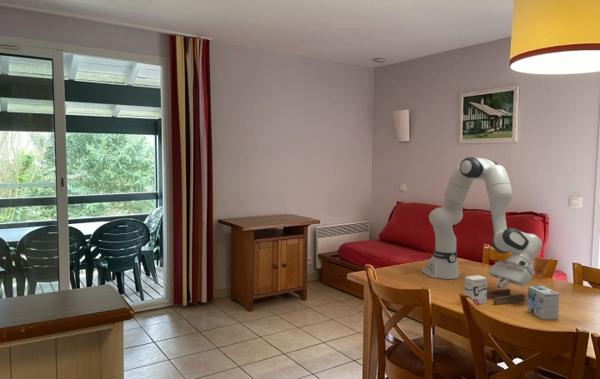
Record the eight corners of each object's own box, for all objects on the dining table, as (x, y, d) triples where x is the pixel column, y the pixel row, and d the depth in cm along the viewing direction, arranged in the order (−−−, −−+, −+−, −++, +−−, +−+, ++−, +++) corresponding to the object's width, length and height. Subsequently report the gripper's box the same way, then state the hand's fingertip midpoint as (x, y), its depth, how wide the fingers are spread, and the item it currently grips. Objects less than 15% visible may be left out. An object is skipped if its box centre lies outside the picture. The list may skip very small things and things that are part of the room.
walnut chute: (480, 298, 198) (480, 292, 198) (507, 294, 203) (507, 288, 203) (496, 305, 188) (496, 298, 188) (524, 301, 193) (524, 294, 193)
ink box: (472, 305, 188) (472, 279, 187) (464, 302, 192) (464, 276, 192) (487, 303, 191) (487, 277, 190) (478, 300, 195) (479, 274, 195)
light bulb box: (527, 310, 181) (527, 285, 180) (542, 310, 181) (542, 285, 181) (543, 320, 170) (544, 293, 170) (559, 319, 171) (560, 292, 170)
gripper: (496, 255, 206) (479, 277, 204) (530, 264, 187) (512, 288, 184) (503, 263, 208) (486, 285, 205) (538, 274, 188) (520, 297, 186)
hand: (498, 287), depth 195 cm, fingers closed
